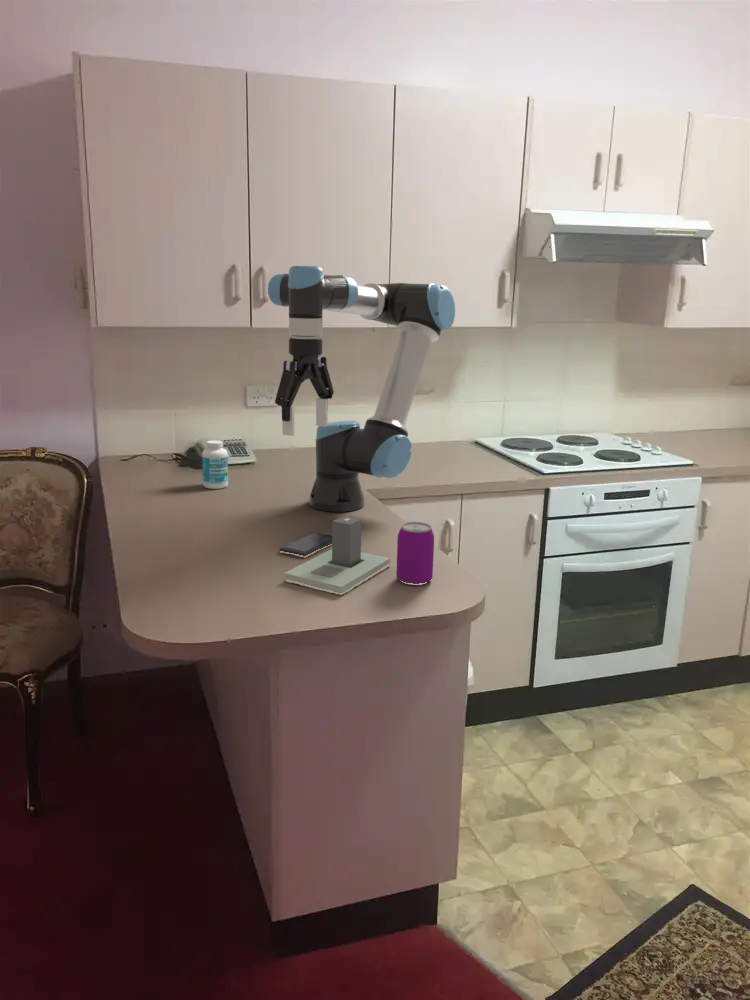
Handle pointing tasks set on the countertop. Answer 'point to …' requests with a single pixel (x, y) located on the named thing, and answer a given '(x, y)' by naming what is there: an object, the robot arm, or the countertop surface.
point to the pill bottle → (215, 465)
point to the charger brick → (346, 541)
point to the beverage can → (415, 553)
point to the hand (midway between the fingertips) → (305, 430)
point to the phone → (308, 544)
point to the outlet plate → (335, 572)
